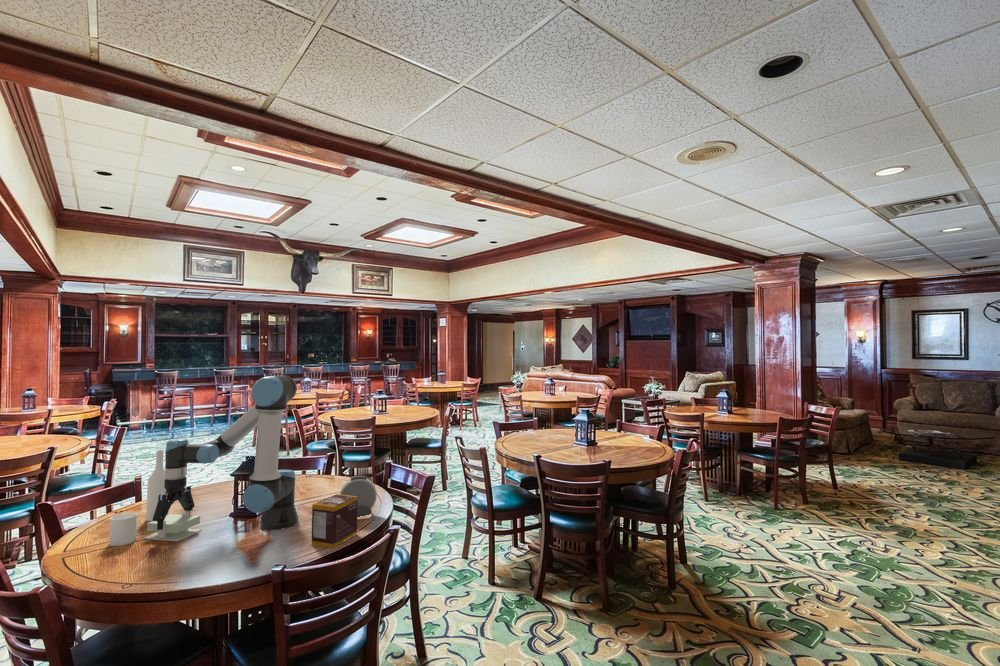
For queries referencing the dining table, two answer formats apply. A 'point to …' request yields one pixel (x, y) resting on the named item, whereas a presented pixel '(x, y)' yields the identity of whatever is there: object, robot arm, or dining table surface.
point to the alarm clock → (361, 493)
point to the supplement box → (334, 520)
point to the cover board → (176, 523)
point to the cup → (122, 529)
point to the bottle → (155, 486)
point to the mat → (174, 535)
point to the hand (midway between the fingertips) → (173, 532)
